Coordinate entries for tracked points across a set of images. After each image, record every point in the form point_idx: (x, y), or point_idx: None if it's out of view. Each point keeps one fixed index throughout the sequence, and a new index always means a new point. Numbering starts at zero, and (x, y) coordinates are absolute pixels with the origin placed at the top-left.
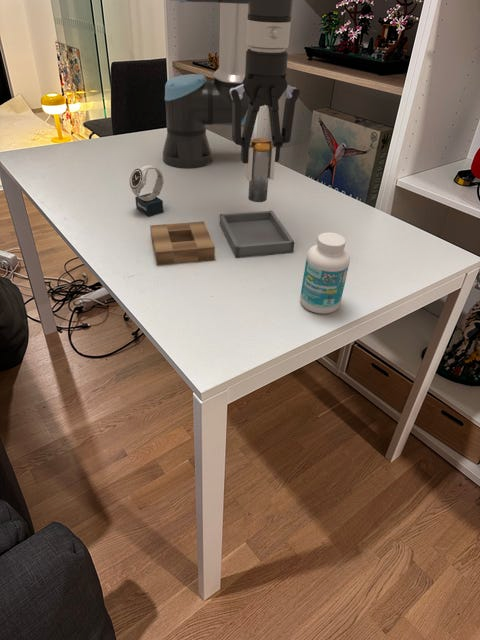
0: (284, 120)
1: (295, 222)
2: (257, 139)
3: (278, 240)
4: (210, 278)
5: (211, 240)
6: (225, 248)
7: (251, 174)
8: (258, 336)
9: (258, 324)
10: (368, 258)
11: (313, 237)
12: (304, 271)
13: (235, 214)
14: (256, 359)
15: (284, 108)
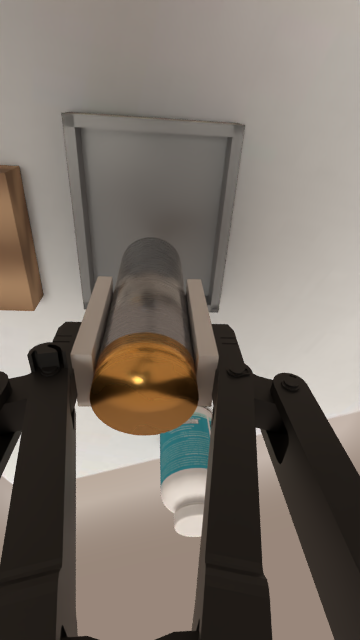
0: (304, 492)
1: (298, 157)
2: (132, 375)
3: (200, 260)
4: (32, 347)
5: (27, 283)
6: (71, 255)
7: None
8: (88, 452)
9: (93, 438)
10: (338, 342)
11: (292, 249)
12: (162, 460)
13: (115, 128)
14: (79, 474)
15: (350, 562)
